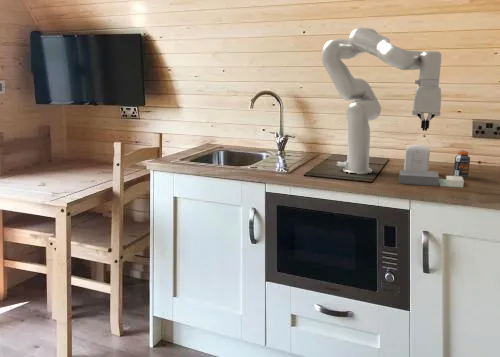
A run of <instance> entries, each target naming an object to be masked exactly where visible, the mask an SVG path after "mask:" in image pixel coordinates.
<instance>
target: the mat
mask: <svg viewBox="0 0 500 357" xmlns="http://www.w3.org/2000/svg"><path fill="white" fill-rule="evenodd" d="M438 186H439V187H445V188H446V187H448V188H449V187H450V188H464V185H463V186H458V185H447V183H446V178H444V179H443V178H439V185H438Z"/></svg>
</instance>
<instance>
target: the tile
mask: <svg viewBox="0 0 500 357" xmlns="http://www.w3.org/2000/svg"><path fill="white" fill-rule="evenodd" d="M445 179H446V183H447V185H458V186H463V187H464V182H465V180H464V179H463V178H462V177H460V176H453V175H445Z"/></svg>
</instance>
